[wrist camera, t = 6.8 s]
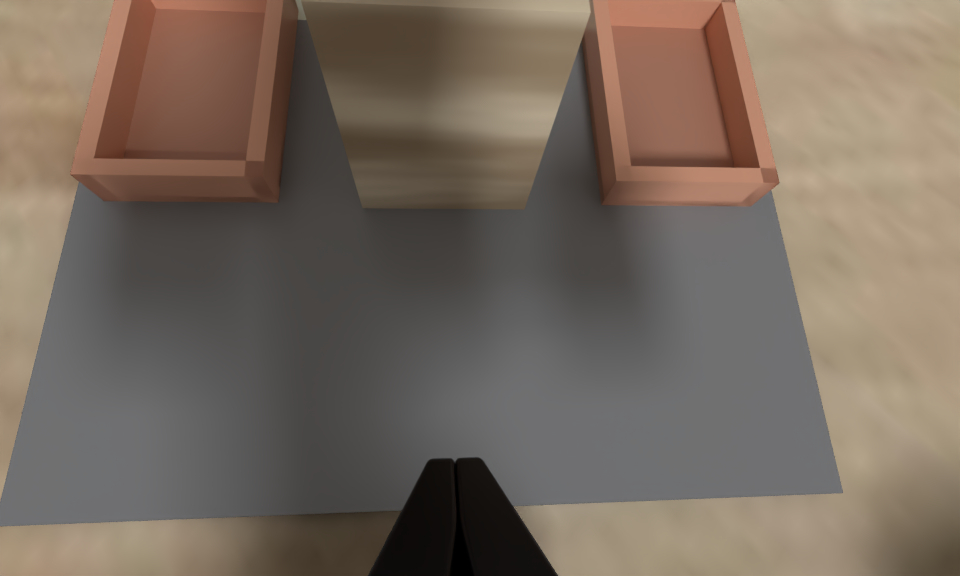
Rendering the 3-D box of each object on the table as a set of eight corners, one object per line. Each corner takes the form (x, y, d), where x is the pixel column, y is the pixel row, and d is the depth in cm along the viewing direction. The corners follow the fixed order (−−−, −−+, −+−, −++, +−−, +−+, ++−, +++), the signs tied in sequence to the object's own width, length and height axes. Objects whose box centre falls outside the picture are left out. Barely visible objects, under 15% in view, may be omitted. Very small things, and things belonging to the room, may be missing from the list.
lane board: (830, 492, 18) (893, 496, 15) (10, 524, 15) (-71, 535, 13) (688, -122, 27) (713, -180, 25) (171, -154, 25) (142, -221, 23)
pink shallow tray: (750, 206, 20) (779, 182, 19) (601, 205, 20) (616, 181, 18) (711, 26, 23) (732, -9, 21) (579, 21, 23) (591, -15, 21)
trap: (278, 202, 19) (262, 176, 17) (103, 200, 18) (69, 174, 17) (298, 10, 22) (286, -28, 20) (148, 4, 21) (123, -36, 20)
